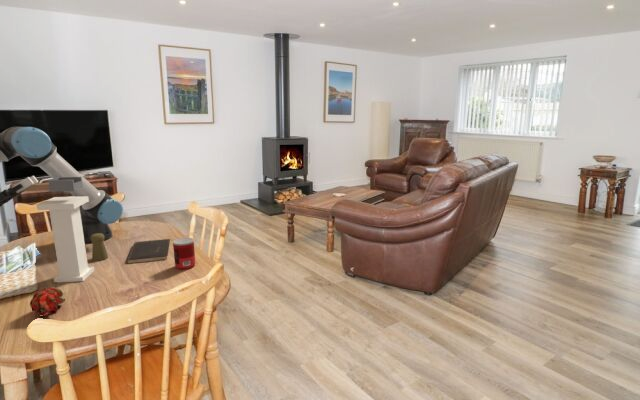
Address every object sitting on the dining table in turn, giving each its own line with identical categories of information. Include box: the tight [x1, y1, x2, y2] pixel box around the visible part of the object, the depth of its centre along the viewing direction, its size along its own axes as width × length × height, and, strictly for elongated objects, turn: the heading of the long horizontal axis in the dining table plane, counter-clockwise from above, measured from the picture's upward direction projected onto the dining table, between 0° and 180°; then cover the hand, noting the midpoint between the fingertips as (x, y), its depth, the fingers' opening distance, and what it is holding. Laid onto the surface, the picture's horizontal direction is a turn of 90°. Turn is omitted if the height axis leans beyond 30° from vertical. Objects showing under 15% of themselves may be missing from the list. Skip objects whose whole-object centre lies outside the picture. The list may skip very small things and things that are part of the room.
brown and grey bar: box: [9, 177, 83, 193], centre depth 141 cm, size 22×7×4 cm, turn 98°
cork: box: [90, 233, 109, 262], centre depth 167 cm, size 6×6×11 cm
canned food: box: [172, 237, 196, 271], centre depth 159 cm, size 8×8×11 cm
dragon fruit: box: [29, 286, 66, 319], centre depth 123 cm, size 8×8×12 cm
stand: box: [36, 196, 95, 283], centre depth 147 cm, size 12×12×30 cm
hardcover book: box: [126, 238, 171, 264], centre depth 176 cm, size 16×23×2 cm
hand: (33, 179), depth 140 cm, fingers closed on brown and grey bar, 2 cm apart
